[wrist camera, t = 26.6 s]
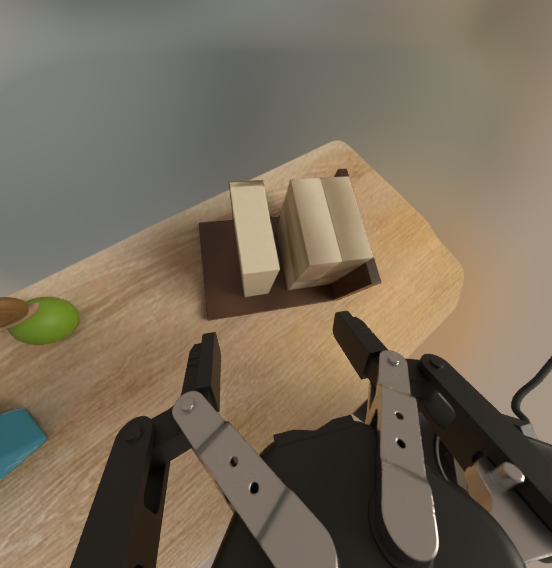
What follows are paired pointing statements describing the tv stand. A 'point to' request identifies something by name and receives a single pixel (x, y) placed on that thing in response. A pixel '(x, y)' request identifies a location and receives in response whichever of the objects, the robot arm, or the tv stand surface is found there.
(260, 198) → the cream book
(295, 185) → the book rack
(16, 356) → the tv stand surface
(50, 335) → the snail figurine
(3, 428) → the data package
